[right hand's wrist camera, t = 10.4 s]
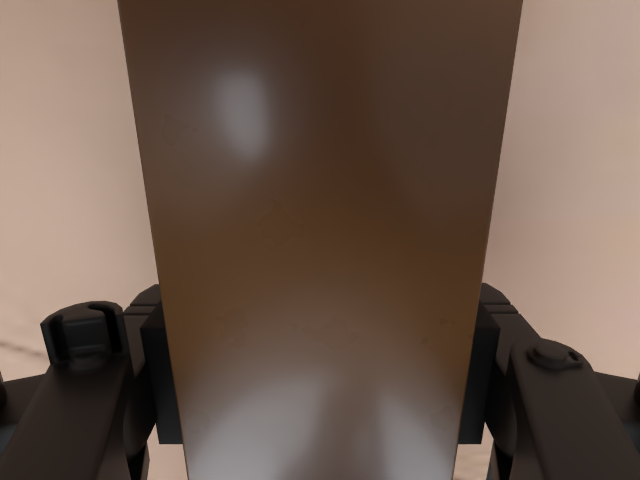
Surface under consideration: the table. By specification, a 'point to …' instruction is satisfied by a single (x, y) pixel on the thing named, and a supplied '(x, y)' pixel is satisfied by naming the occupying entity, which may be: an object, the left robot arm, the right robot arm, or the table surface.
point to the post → (320, 223)
